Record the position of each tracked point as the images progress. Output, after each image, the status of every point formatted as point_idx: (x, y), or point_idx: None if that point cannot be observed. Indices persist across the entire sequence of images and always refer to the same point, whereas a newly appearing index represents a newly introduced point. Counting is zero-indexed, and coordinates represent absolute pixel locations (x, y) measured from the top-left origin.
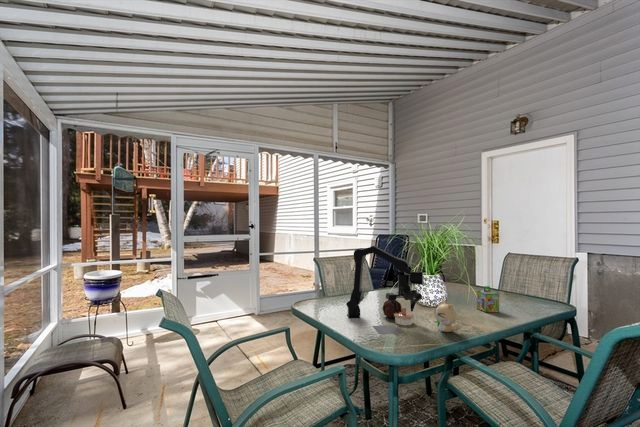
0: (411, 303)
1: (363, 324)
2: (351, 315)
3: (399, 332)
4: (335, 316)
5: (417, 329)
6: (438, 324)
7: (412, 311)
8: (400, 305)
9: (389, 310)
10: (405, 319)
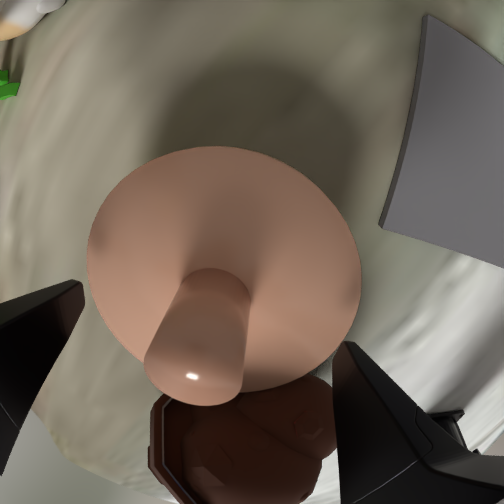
0: (15, 384)
1: (498, 326)
2: (454, 424)
3: (450, 39)
4: (472, 426)
5: (206, 41)
6: (4, 85)
7: (72, 279)
8: (159, 449)
9: (333, 420)
10: None
